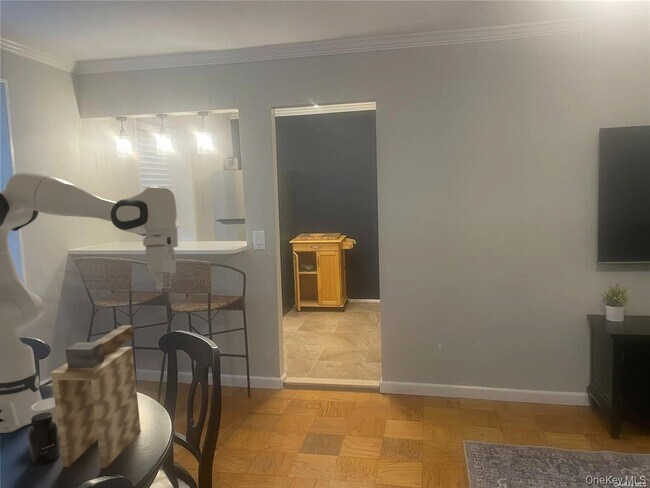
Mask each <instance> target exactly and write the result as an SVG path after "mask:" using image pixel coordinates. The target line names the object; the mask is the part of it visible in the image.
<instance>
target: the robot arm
mask: <svg viewBox="0 0 650 488" xmlns="http://www.w3.org/2000/svg"><path fill="white" fill-rule="evenodd" d="M39 213H43V214H47V215H52V216H62V217H78V218H81V217H82V218H92V219H93V218H94V219H100V220H104V221H107V222H111V223H112V225H114V227H116V228H117V229H119V230H120V231H123V232H127V233H131V234H135V235H139V236H141V237H144V238H143V239H142V244H143V246H144V247H145V251H144V252H145V260H146V267H147V270H148V272H149V273H151V274H152V273H153V279H154V283H155V289H156V290H162V289H171V286H172V283H171V282H172V277H173V276H172V274H173V273H174V274H175V273H176V271H177V263H176V252H175V248H178V246H179V242H178V240H179V238H178V227H177V225H176V222H177V216H178V215H177V214H178V213H177V203H176V198H175V194H174V192H172V191H171V190H170V189H169V188H165V187H163V186H161V187H160V186H155V185H154V186H153V185H152V186H147V187H146V188H145V189H144V190H143V191H141V192H140V193H137V194H136V195H134V196H131V197H127V198H124V199H120V200H118V201H113V200H109V199H104V198H101V197H99V196H97V195H94V194H92V193H91V192H89V191H87V190H84V189H83V188H81V187H80V186H77V185H75V184H73V183H72V182H68V181H67V180H64V179H62V178H58V177H54V176H50V175H47V174H46V175H44V174H40V173H34V172H33V173H32V172H31V173H30V172H18V173H16V174H13V175H12V176H11V177H10V178H9V179H8V180H7V183H6V186H5V189H4V190H2V191H0V434H9V433H12V432H15V431H16V430H19V429H20V428H22V427H25V426H28V425H30V424H31V418H32V417H33V415H32V410H31V407H32V405H34V404H35V403H37V402H39V401H41V400H43V398H42V395H41V391H40V377H39V374H38V370H37V369H36V364H35V355H34V350H33V348H32V346H31V345H29V344H27V343H23V342H22V341H21V339H20V337H19V331H21V330H23V329H25V328H28V327H30V326H32V325H34V323H36V322H37V321H39V319H41V317H43V315H44V313H45V309H46V308H45V307H46V306H45V302H44V301H43V299H42V298H41V297H40V296H39V295H37V294H35V293H33V292H32V291H30V290H29V289H28V288H27V287H26V285H25V284H24V283H23V281H22V279H21V278H20V276H19V273H18V271H17V268H16V265H15V262H14V259H13V258H14V257H13V255H12V252H11V248H10V245H9V241H8V235H9V234H10V232H11V231H12V232H13V231H14V232H16V231H20V229H22V228H24V227H26V226H28V225H30V224H31V223H33V222H34V221H35V220H37V217H38V215H39Z"/></svg>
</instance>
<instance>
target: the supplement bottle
mask: <svg viewBox="0 0 650 488" xmlns="http://www.w3.org/2000/svg"><path fill="white" fill-rule="evenodd" d="M30 424H31V427H30V428H29V429H28V434H27V435H28V443H29V452H30V453H29V454H30V460H31V462H32V463H33V464H34V465H44V464H48V463H51V462H53V461H55V460H56V459H57V458H58V457H59V456H60V455H61V444H60V437H59V436H58V427H57V424H56V423H55V422H53V419H52V414H51V413H49V412H44V413H40V414H37V415H35V416H33V417H32V418H31V423H30Z"/></svg>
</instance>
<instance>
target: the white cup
mask: <svg viewBox="0 0 650 488" xmlns="http://www.w3.org/2000/svg"><path fill="white" fill-rule="evenodd" d="M31 410H32V415H33V416H35V415H37V414H40V413H44V412H49V413H51V414H52V419H53V422H55V423H56V424H57V427H58V421H57V414H56V406H55V399H54V397H49V398H45V399H42V400H41V401H39V402H37V403H35V404H34V405H32V407H31ZM58 436H59V429H58Z"/></svg>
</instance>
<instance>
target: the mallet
mask: <svg viewBox="0 0 650 488" xmlns="http://www.w3.org/2000/svg"><path fill="white" fill-rule="evenodd" d="M134 337H135V335H134V325H131V324H130V325H129V324H128V325H127V324H125V325H121V326H118V327H117V328H115V329H113V330H112V331H110V332H109V333H107V334H105V335H104V336H102V337H100V338H99V339H96V340H95V341H92V342H76V343H74V344H72V345H71V346H69V347H67V348H65V354H66V355H65V356H66V363H67V365H68V368H94V367H95V366H97V365H98V364H100V363H101V362H102V361H104V356H105V355H107V354H108V353H110V352H111V351H113V350H114V349H116V348H117V347H121V346H122V345H123V344H125V343H126V342H128V341H129V340H131V339H133V338H134Z"/></svg>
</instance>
